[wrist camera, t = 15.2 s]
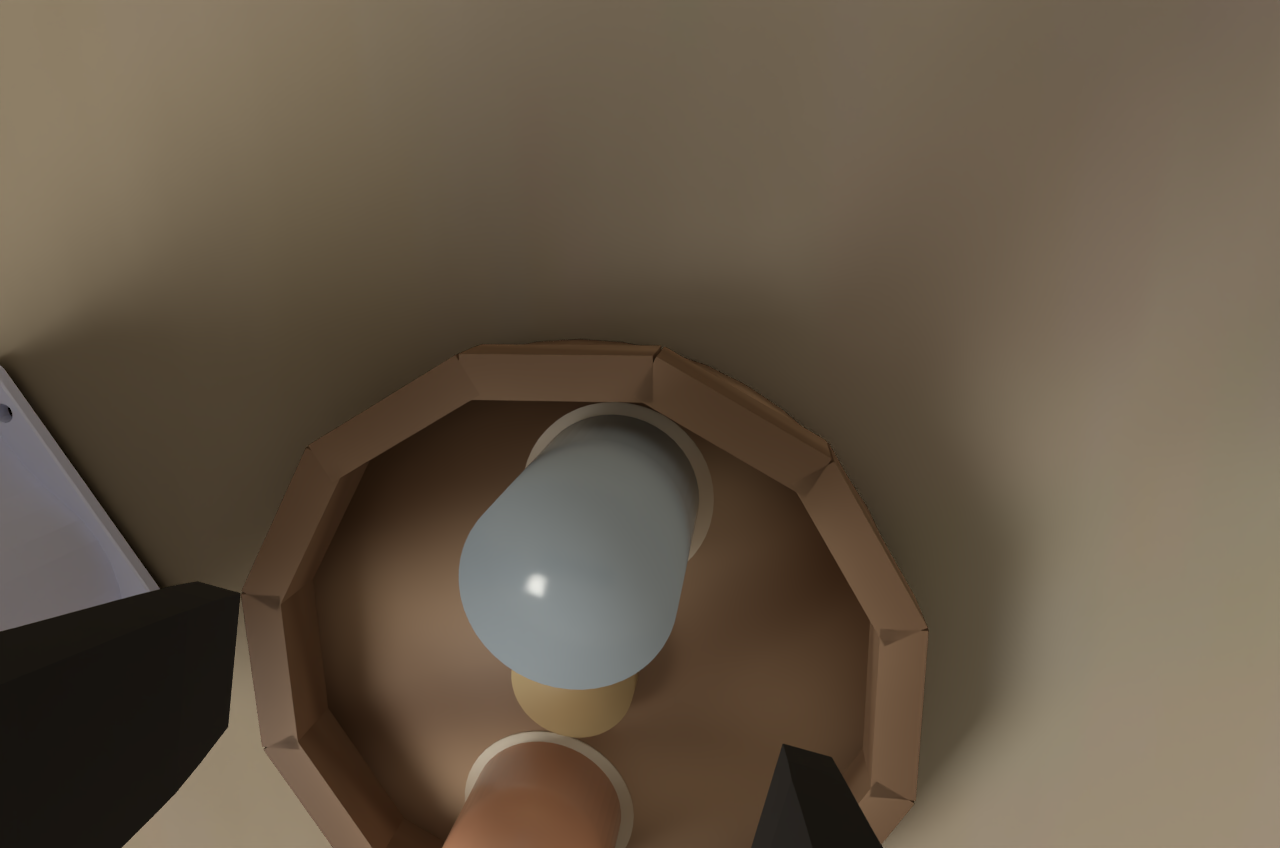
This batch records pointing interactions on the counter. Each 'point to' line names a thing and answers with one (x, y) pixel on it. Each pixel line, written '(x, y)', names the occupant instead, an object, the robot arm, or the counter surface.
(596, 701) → the walnut groove tray
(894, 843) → the counter surface
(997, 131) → the counter surface
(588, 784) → the peach rounded cylinder
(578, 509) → the slate bead
